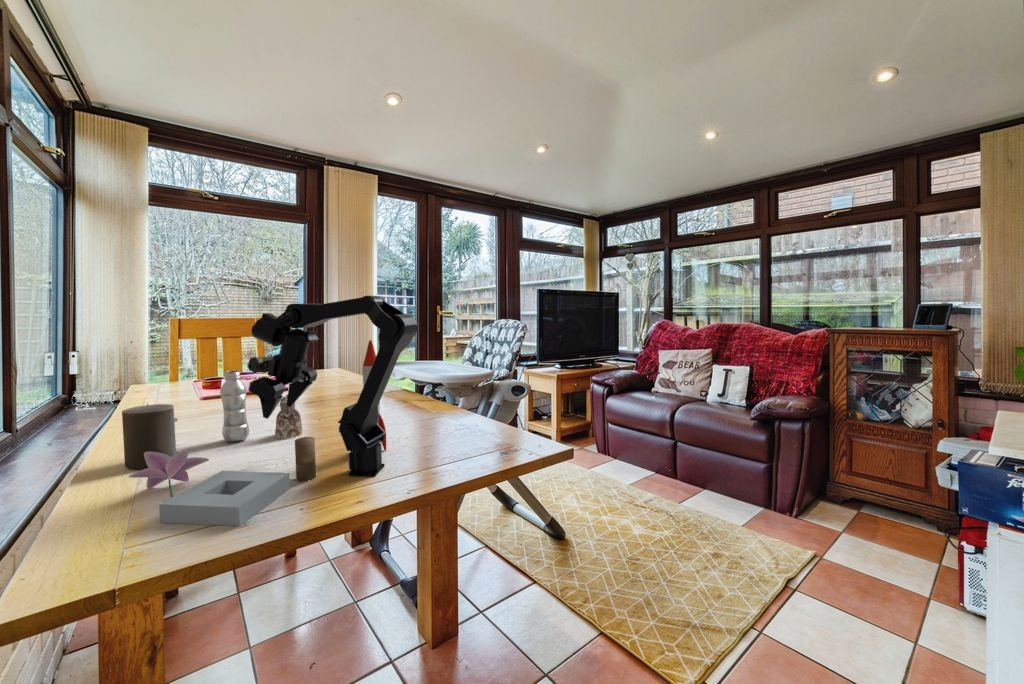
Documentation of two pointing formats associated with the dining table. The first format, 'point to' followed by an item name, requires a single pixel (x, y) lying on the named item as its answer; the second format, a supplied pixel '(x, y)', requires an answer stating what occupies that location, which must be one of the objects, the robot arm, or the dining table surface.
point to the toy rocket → (366, 369)
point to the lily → (167, 467)
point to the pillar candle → (148, 433)
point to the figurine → (288, 421)
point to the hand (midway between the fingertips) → (277, 411)
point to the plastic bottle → (234, 407)
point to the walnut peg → (305, 458)
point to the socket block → (225, 498)
